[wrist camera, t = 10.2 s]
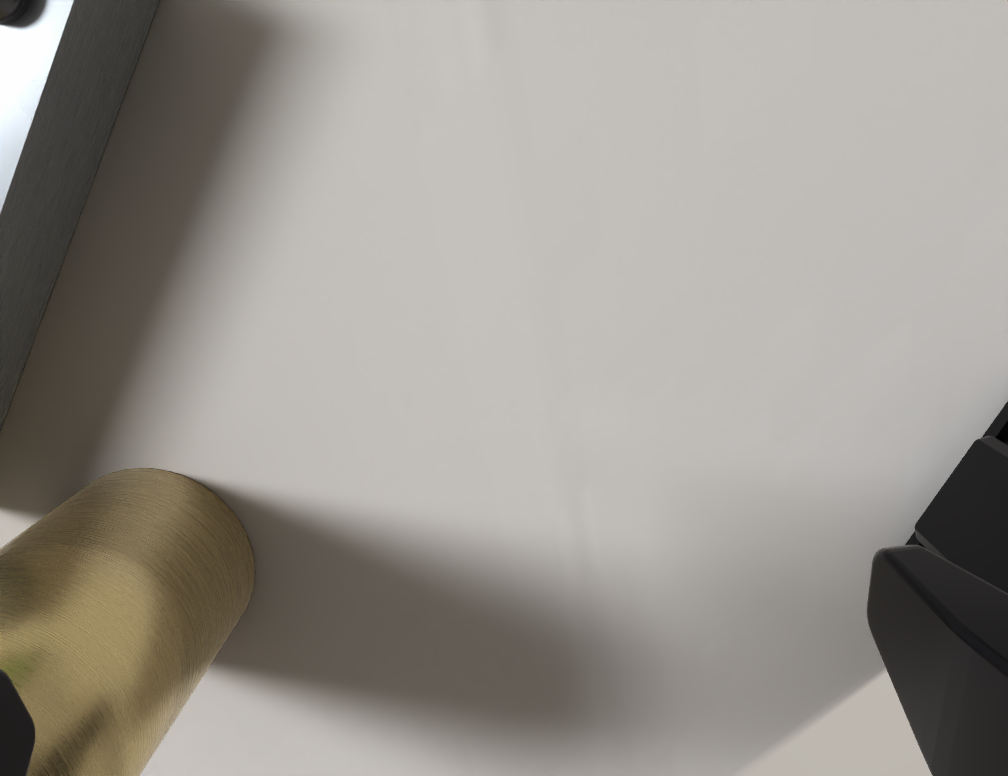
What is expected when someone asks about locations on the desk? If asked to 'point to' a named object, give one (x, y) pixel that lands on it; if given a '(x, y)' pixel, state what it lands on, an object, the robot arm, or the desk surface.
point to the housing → (53, 143)
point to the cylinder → (119, 616)
